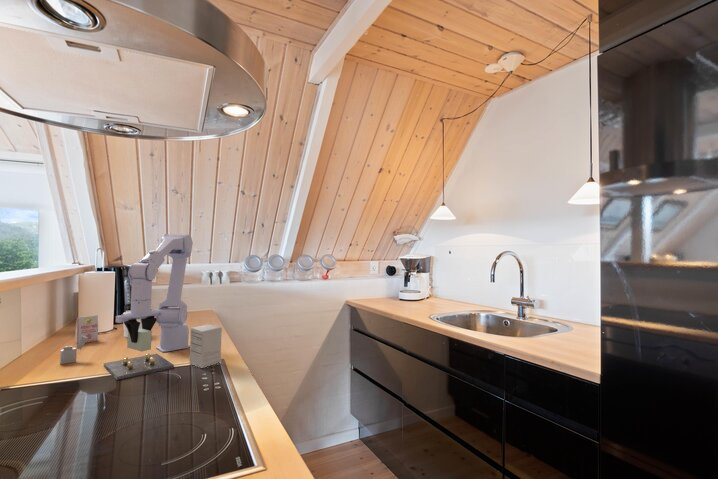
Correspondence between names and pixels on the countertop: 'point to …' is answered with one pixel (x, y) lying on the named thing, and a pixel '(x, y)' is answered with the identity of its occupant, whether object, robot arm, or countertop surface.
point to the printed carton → (87, 328)
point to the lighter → (71, 352)
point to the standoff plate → (137, 366)
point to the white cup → (126, 327)
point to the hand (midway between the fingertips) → (139, 341)
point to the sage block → (141, 340)
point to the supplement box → (205, 345)
